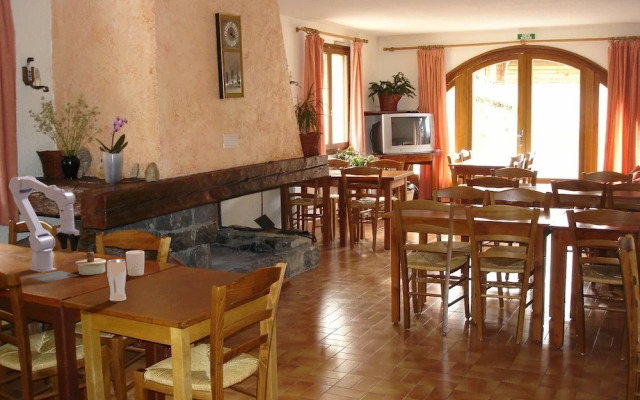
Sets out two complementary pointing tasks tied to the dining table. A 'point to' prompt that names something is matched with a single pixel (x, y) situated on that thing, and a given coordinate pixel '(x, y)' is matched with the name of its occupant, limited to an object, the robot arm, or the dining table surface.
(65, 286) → the dining table surface
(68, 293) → the dining table surface
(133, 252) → the white cup
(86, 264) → the lid
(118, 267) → the beer glass
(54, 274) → the mat
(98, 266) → the bowl
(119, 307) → the dining table surface
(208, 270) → the dining table surface
